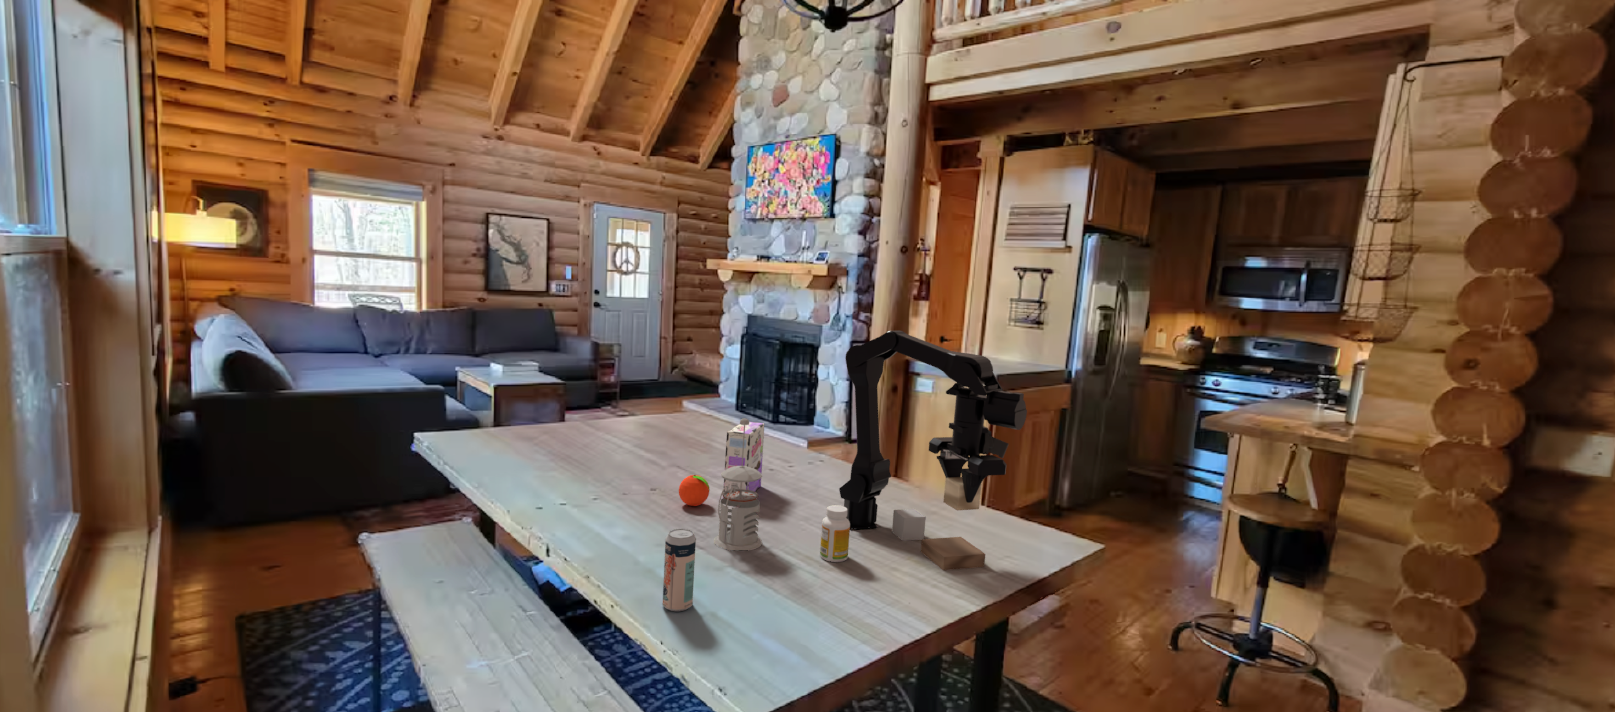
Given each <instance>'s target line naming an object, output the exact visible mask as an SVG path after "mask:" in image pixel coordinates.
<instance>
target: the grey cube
mask: <svg viewBox="0 0 1615 712" xmlns="http://www.w3.org/2000/svg"><path fill="white" fill-rule="evenodd" d="M892 514H893V515H892V528H891V533H892V534H894V535H895V534H896V535H897V536H898V537H899V540H901V541H902V542H906V541H918V540H921V541H922V539H925V529H926V518H927V517H926V516H925V515H924V514H922V513H921V512H920V511H918V510H917V509H915V508H906V509H905V508H904V509H894V510H893V513H892ZM896 535H895V536H896ZM897 536H896V537H897ZM898 537H897V538H898Z"/></svg>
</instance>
